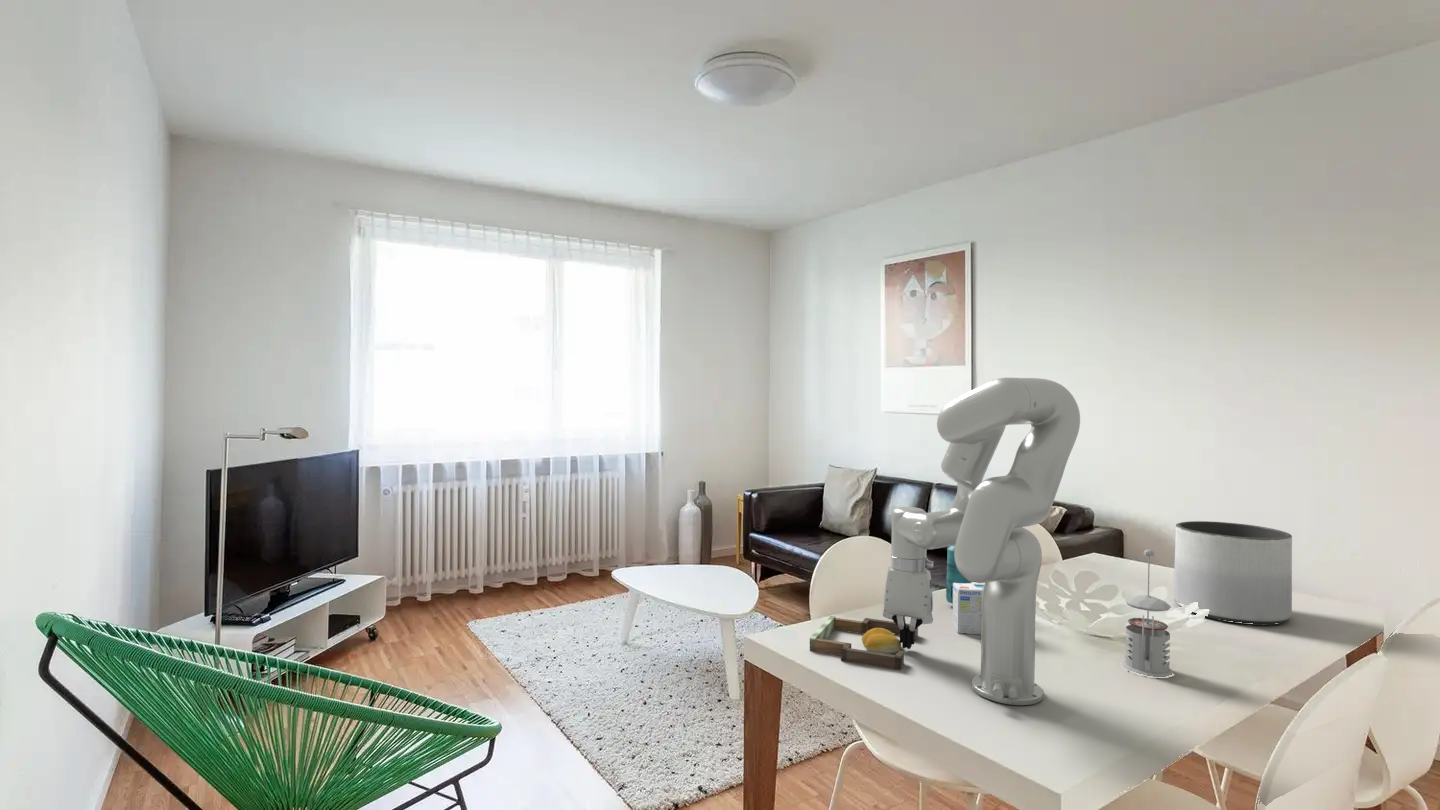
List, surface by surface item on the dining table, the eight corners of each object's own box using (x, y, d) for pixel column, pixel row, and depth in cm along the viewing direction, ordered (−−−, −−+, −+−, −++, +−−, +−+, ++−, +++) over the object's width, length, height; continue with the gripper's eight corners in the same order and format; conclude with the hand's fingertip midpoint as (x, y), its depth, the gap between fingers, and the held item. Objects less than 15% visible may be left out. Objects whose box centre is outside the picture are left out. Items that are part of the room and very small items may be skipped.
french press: (1174, 666, 150) (1176, 548, 149) (1176, 685, 140) (1178, 558, 139) (1120, 657, 155) (1122, 542, 154) (1118, 675, 145) (1121, 552, 144)
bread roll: (868, 655, 155) (868, 637, 155) (859, 641, 164) (859, 624, 164) (906, 655, 155) (906, 637, 155) (894, 641, 164) (894, 624, 164)
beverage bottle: (954, 602, 195) (955, 529, 195) (976, 607, 190) (977, 533, 190) (940, 606, 191) (941, 532, 191) (962, 612, 186) (963, 536, 186)
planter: (1280, 635, 171) (1282, 543, 170) (1160, 610, 189) (1162, 528, 189) (1300, 613, 188) (1301, 530, 188) (1188, 593, 207) (1189, 517, 206)
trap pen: (900, 670, 146) (900, 656, 146) (805, 654, 154) (805, 641, 154) (917, 635, 168) (917, 623, 168) (833, 623, 176) (833, 612, 176)
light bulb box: (995, 626, 175) (996, 583, 175) (1004, 636, 168) (1004, 590, 168) (951, 625, 176) (951, 581, 176) (957, 634, 169) (958, 588, 169)
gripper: (946, 564, 157) (944, 646, 158) (878, 556, 163) (876, 636, 164) (941, 571, 150) (940, 658, 151) (870, 563, 157) (869, 646, 157)
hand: (907, 646), depth 157 cm, fingers closed
